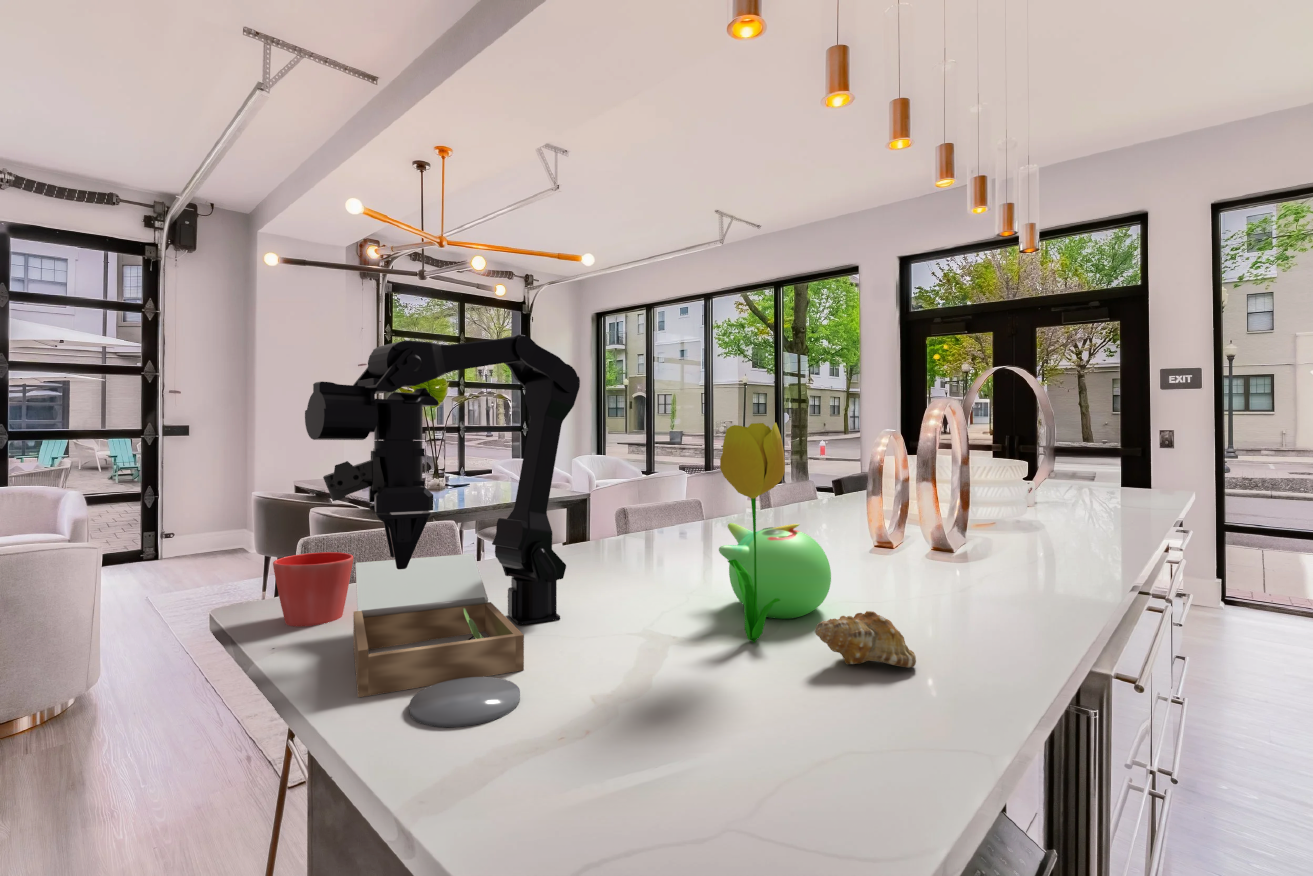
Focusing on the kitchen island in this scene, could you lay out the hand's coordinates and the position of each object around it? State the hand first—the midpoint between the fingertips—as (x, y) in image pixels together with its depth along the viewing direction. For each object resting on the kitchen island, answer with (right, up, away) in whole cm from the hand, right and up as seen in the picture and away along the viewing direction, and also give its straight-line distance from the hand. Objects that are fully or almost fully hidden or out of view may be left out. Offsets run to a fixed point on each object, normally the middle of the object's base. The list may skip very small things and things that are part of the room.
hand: (398, 562), depth 81 cm
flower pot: (-20, -13, +17) cm, 29 cm away
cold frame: (+5, -12, -1) cm, 13 cm away
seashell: (+61, -13, -4) cm, 62 cm away
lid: (-1, -12, +11) cm, 17 cm away
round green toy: (+52, -12, +19) cm, 57 cm away
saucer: (+13, -12, -15) cm, 23 cm away
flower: (+46, -12, +4) cm, 48 cm away
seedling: (+5, -12, -3) cm, 14 cm away
